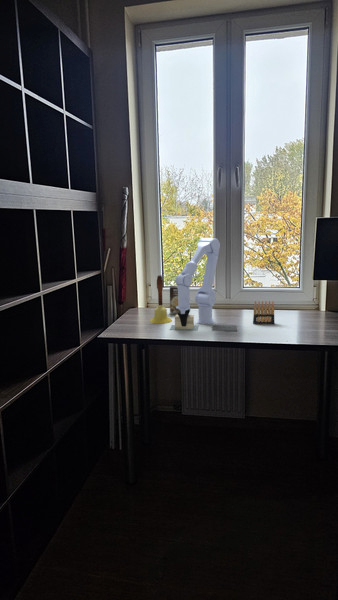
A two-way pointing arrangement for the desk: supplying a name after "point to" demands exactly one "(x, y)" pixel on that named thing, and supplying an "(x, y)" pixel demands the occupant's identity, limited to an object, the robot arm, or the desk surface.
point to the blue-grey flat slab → (185, 329)
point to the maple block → (188, 326)
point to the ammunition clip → (263, 313)
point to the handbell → (160, 306)
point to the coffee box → (173, 300)
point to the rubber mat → (224, 328)
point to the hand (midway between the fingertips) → (184, 324)
